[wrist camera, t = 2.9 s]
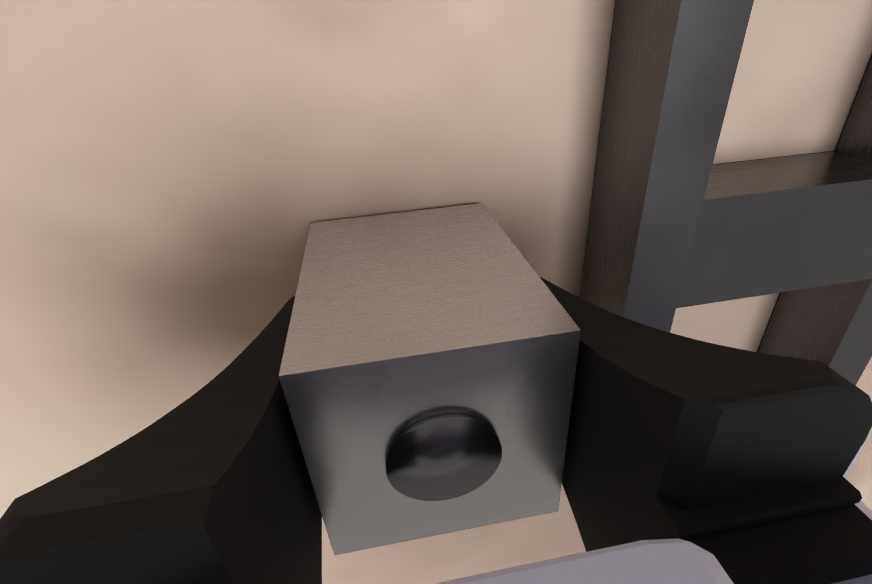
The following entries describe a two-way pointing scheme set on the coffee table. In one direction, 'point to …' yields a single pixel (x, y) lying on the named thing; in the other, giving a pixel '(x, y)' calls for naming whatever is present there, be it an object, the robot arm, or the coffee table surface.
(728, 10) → the dark grey double frame
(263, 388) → the robot arm
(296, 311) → the block
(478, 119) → the coffee table surface
